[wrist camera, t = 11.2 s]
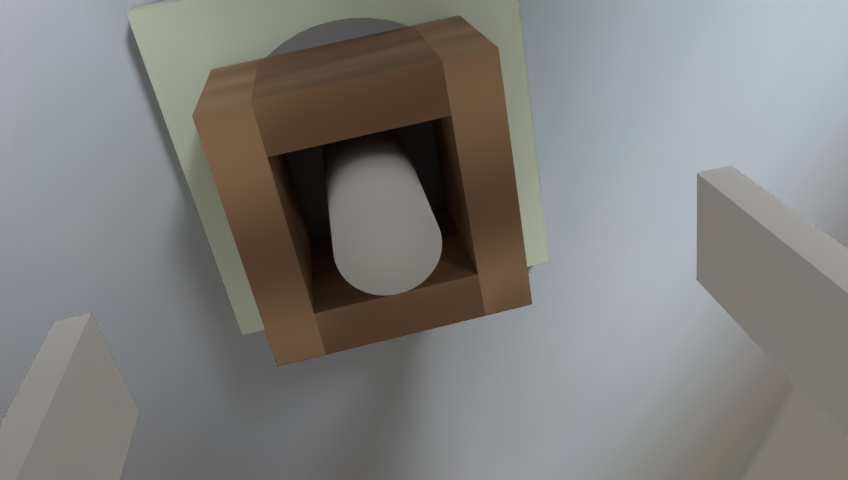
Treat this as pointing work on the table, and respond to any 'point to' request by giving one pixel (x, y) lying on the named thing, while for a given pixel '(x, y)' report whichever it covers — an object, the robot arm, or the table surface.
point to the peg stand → (343, 160)
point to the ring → (348, 118)
